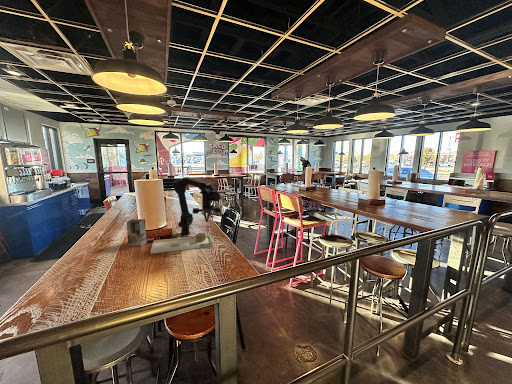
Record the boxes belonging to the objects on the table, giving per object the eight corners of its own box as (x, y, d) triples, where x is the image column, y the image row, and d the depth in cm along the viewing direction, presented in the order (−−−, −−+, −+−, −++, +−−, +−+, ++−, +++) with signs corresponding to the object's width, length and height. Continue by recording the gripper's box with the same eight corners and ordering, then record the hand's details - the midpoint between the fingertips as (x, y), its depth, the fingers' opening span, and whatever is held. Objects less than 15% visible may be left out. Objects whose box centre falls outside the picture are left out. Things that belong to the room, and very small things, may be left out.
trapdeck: (153, 245, 135) (153, 240, 134) (210, 239, 146) (210, 234, 146) (150, 253, 124) (150, 247, 123) (212, 246, 135) (212, 240, 134)
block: (199, 239, 141) (199, 232, 140) (205, 239, 140) (205, 233, 139) (196, 241, 136) (195, 235, 136) (202, 242, 135) (202, 235, 135)
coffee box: (147, 242, 141) (145, 219, 139) (141, 246, 135) (139, 221, 132) (134, 241, 142) (132, 218, 140) (127, 245, 135) (125, 221, 133)
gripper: (192, 203, 135) (193, 226, 137) (221, 201, 141) (221, 224, 143) (192, 200, 146) (193, 221, 148) (219, 199, 151) (219, 219, 154)
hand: (206, 222), depth 148 cm, fingers closed
